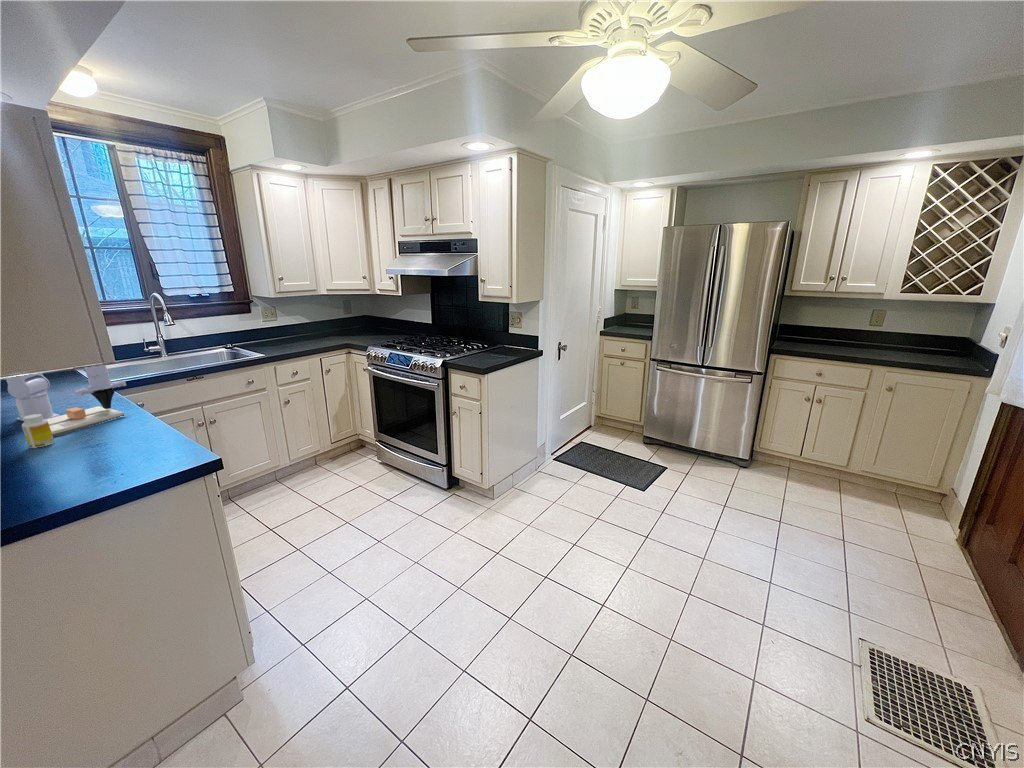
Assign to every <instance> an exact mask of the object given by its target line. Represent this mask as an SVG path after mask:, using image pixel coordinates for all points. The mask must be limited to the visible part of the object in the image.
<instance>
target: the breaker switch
mask: <svg viewBox="0 0 1024 768" xmlns="http://www.w3.org/2000/svg"><path fill="white" fill-rule="evenodd" d="M65 413H66V414H67V417H68V418H72V419H80V418H84V417H86V414H85V408H80V407H77V406H76V407H71V408H66V409H65Z"/></svg>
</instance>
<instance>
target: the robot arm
mask: <svg viewBox="0 0 1024 768" xmlns="http://www.w3.org/2000/svg"><path fill="white" fill-rule="evenodd" d="M84 370H85V373H86V376H87V380H88V384H89V386H86V387H83V388H80V389H76V390H74V394H75V396H77V397H82V396H85V395H88V394H91V395H92V396H93V397H94V398H95V399H96V400H97V401H98V402H99V404H100V405H101V407H103V408H104V409H112V400H113V396H114V395H115V389H114V388H120V387H126V386H127V383H126V380H118V381H111V378H110V375H109V371H108V367H107V364H106V365H100V366H92V367H84ZM5 381H6V383H7V392H8V394H9V395H11V396H12V397H14V398H15V399H16V400H15V405H16V407H17V411H18V414H19V416H20V417H17V418H16V419H17V420H19V421H21V422H22V421H23V422H24V420H23V417H25V416H28V415H33V414H41V415H42V417H43V419H49V418H53V417H57V416H61V415H60V414H58V413H55V412H54V411H53V408H52V404H51V402H50V399H49V395H48V393H49V391H48V390H49V388H50V387H51V382H50V380H48V378H46V377H45V376H44V375H43V372H42V373H38V374H29V375H24V376H16V377H11V378H8V377H7V378H6V379H5Z"/></svg>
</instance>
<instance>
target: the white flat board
mask: <svg viewBox="0 0 1024 768" xmlns="http://www.w3.org/2000/svg"><path fill="white" fill-rule="evenodd" d="M84 410H85V414H86V417H84V418H80V419H72V418H68V417H67V414H62V415H60V416H57V417H53V418H49V419H45V420H47V421H48V423H49V426H50V429H51V432H52V435H53V436H56V437H58V435H59V436H62V434H63V435H66V434H70V433H73V432H77V431H80V430H79V429H81V430H84V429H87V428H86V427H88V428H90V427H89V426H91V427H93V426H92V425H95V426H97V425H96V424H98V425H100V424H99V423H102V422H105V421H108V420H111V419H114V418H118V417H120V416H124V415H125V412H124V411H121V410H117V409H116V410H115V409H114V408H113V409H112V408H109V409H104V408H103V406H99V405H98V406H95V407H94V406H93V407H90V408H86V409H85V408H84ZM125 416H126V415H125ZM102 424H103V423H102ZM83 428H84V429H83ZM76 430H77V431H76Z"/></svg>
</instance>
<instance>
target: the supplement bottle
mask: <svg viewBox="0 0 1024 768" xmlns="http://www.w3.org/2000/svg"><path fill="white" fill-rule="evenodd" d="M23 420H24V421H23V423H22V424H21V429H22V432H23V433H24V437H25V439H26V442H27V445H28V447H29V448H30V449H38V448H37V447H42V446H46V447H48V446H47V445H49V446H51V445H53V444H54V443H55V439H54V437H53V435H52V432H51V429H50V426H49V423H48V421H47V420H45V419H43V417H42V415H41V414H33V415H28V416H25V417H23ZM50 444H51V445H50ZM42 448H43V447H42Z"/></svg>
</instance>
